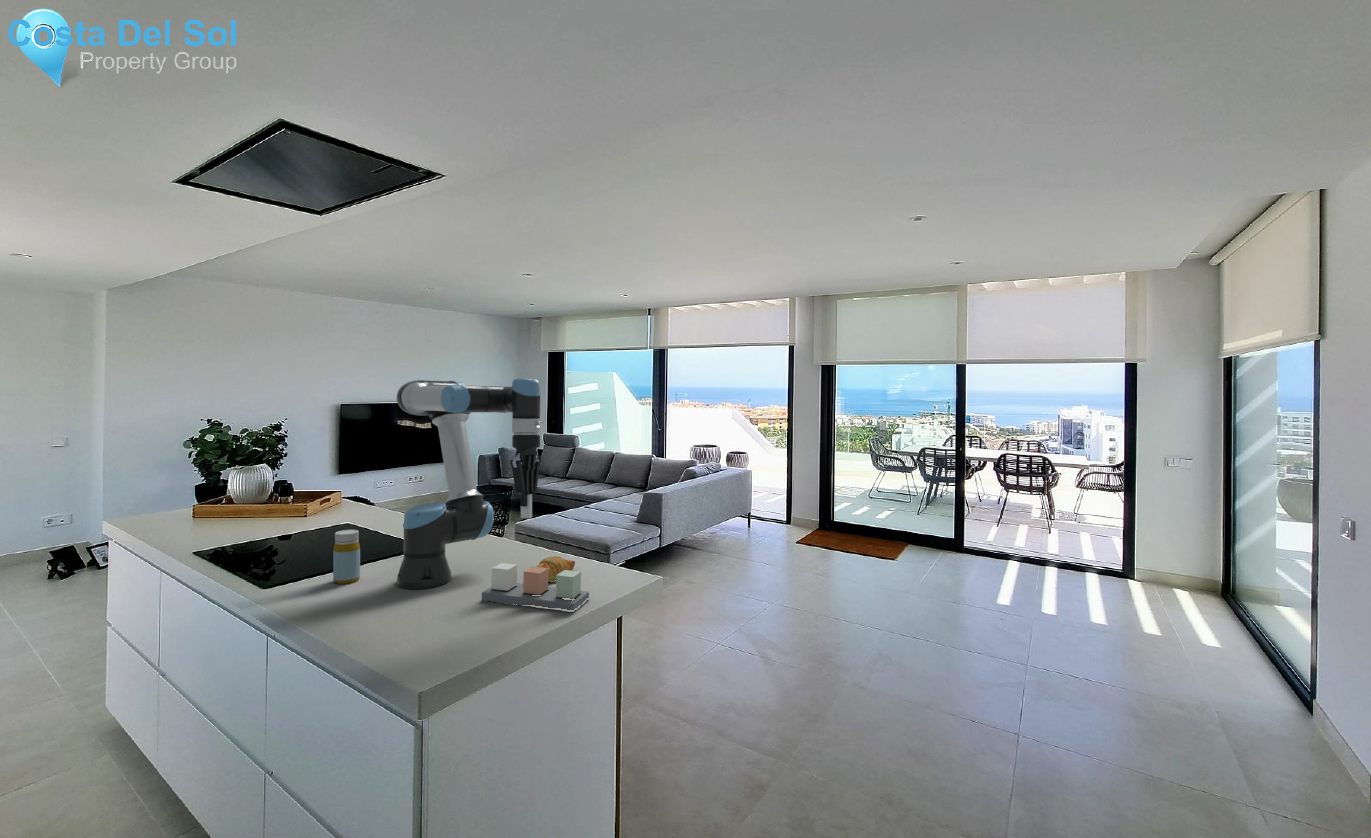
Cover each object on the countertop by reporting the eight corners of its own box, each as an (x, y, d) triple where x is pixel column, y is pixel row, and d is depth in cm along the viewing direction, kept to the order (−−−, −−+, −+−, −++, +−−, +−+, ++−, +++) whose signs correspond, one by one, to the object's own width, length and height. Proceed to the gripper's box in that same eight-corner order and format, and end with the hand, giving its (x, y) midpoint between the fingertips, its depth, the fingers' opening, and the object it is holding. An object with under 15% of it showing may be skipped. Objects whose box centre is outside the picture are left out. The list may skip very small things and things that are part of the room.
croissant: (532, 600, 172) (542, 579, 170) (511, 579, 176) (520, 558, 174) (579, 579, 190) (588, 560, 188) (559, 561, 195) (567, 542, 192)
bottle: (365, 577, 177) (365, 529, 177) (349, 585, 170) (349, 535, 170) (344, 576, 178) (344, 528, 177) (327, 583, 171) (327, 534, 170)
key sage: (555, 596, 157) (556, 575, 157) (564, 590, 162) (564, 569, 162) (572, 598, 156) (573, 577, 156) (580, 592, 161) (580, 571, 161)
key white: (491, 588, 162) (491, 567, 162) (501, 583, 167) (501, 563, 167) (507, 590, 161) (507, 569, 161) (516, 585, 166) (517, 564, 166)
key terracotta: (523, 592, 160) (523, 571, 160) (532, 587, 165) (532, 566, 164) (539, 594, 159) (539, 573, 158) (548, 588, 163) (548, 568, 163)
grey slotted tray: (481, 601, 160) (481, 592, 160) (501, 589, 170) (501, 581, 170) (573, 613, 154) (573, 603, 153) (588, 600, 163) (589, 591, 163)
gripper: (525, 435, 153) (525, 522, 154) (549, 433, 166) (549, 514, 166) (501, 434, 155) (501, 521, 156) (526, 432, 168) (526, 512, 168)
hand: (526, 517), depth 161 cm, fingers closed
